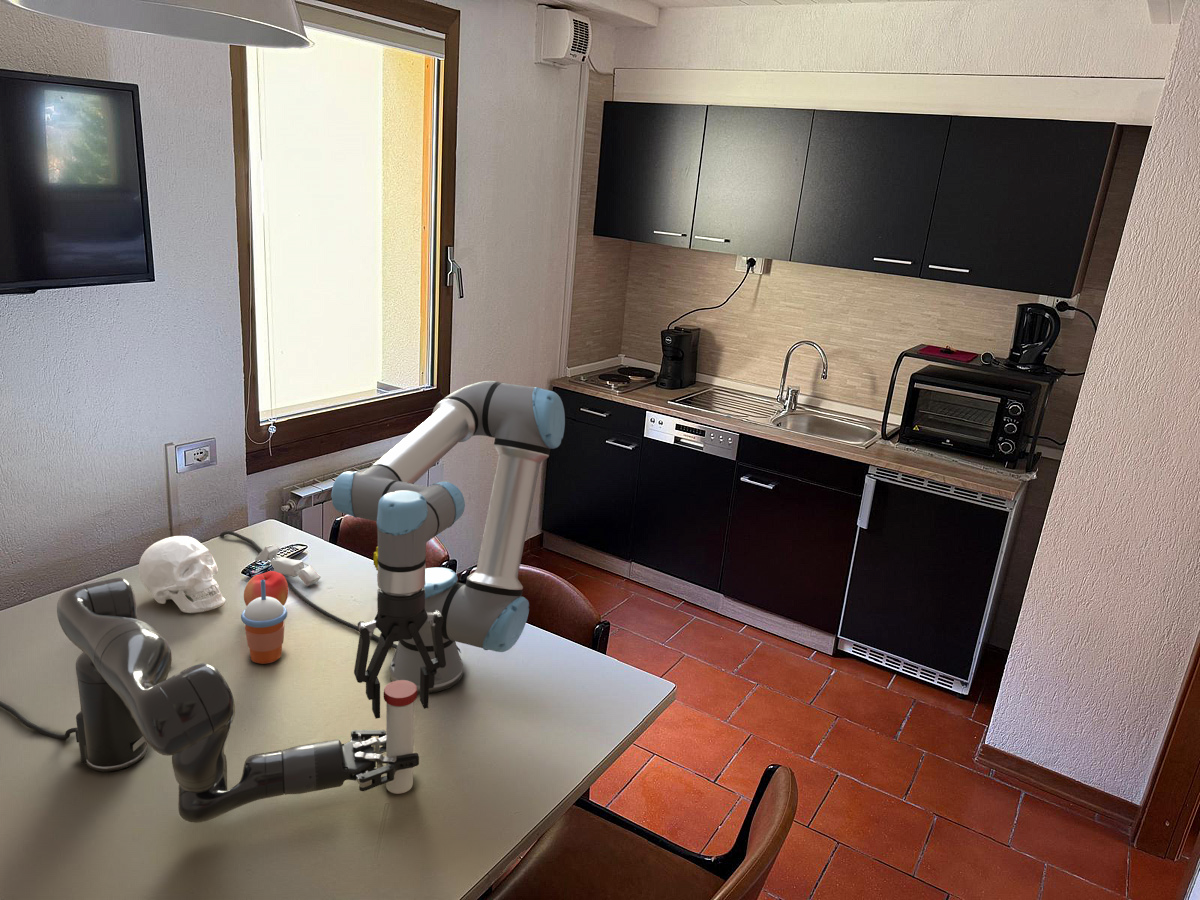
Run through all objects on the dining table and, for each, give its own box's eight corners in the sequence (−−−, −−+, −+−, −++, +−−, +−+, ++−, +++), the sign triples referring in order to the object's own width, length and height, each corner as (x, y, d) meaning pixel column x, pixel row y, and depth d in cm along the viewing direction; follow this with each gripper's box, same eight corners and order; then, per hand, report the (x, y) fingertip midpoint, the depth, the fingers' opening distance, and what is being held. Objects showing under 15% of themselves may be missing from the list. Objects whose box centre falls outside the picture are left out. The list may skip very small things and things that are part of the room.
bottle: (415, 790, 148) (417, 697, 143) (389, 796, 146) (390, 702, 140) (409, 773, 152) (410, 682, 146) (383, 780, 150) (383, 687, 144)
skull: (204, 622, 195) (202, 558, 191) (126, 603, 200) (122, 540, 196) (244, 599, 207) (242, 538, 203) (169, 582, 213) (166, 522, 209)
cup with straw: (273, 671, 179) (270, 593, 173) (234, 663, 180) (229, 586, 175) (296, 649, 187) (294, 575, 182) (259, 642, 189) (255, 568, 183)
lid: (405, 684, 147) (405, 676, 147) (423, 698, 144) (423, 690, 143) (377, 695, 144) (377, 687, 143) (394, 710, 140) (394, 702, 139)
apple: (273, 600, 207) (272, 562, 204) (297, 613, 202) (296, 575, 199) (237, 614, 200) (234, 575, 197) (261, 628, 194) (259, 588, 191)
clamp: (253, 565, 223) (254, 542, 221) (265, 560, 226) (266, 537, 224) (309, 593, 215) (310, 569, 213) (320, 588, 218) (321, 564, 216)
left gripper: (315, 775, 134) (424, 756, 141) (308, 722, 147) (409, 707, 153) (316, 815, 136) (423, 794, 143) (309, 759, 149) (408, 743, 155)
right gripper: (455, 568, 145) (452, 685, 152) (332, 584, 136) (334, 708, 143) (469, 588, 139) (465, 709, 146) (340, 606, 130) (342, 734, 137)
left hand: (415, 749), depth 148 cm, fingers closed on bottle, 4 cm apart
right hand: (400, 708), depth 144 cm, fingers open, 7 cm apart
